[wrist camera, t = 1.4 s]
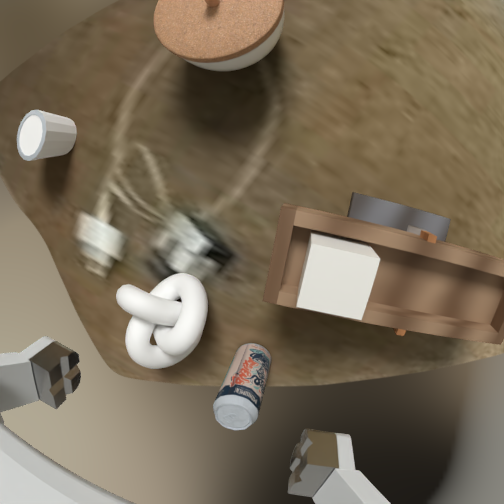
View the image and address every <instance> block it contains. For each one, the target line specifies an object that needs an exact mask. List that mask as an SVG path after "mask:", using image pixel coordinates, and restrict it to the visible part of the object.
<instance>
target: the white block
mask: <svg viewBox="0 0 504 504" xmlns="http://www.w3.org/2000/svg"><path fill="white" fill-rule="evenodd" d="M379 262H380V258H379V256H378V255H377V254H376V253H375V251H374V250H373V249H372V247H371V246H370V245H369V244H368V243H366V242H362V241H357V240H353V239H349V238H344V237H340V236H335V235H331V234H326V233H322V232H317V231H313V230H311V233H310V238H309V242H308V247H307V251H306V256H305V260H304V264H303V269H302V273H301V277H300V281H299V288H298V297H297V305H296V307H299V308H304V309H309V310H313V311H318V312H323V313H328V314H333V315H338V316H343V317H348V318H353V319H358V320H362V317H363V314H364V311H365V308H366V305H367V302H368V299H369V296H370V292H371V289H372V286H373V283H374V279H375V276H376V273H377V269H378V266H379Z"/></svg>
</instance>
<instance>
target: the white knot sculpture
mask: <svg viewBox="0 0 504 504" xmlns="http://www.w3.org/2000/svg"><path fill="white" fill-rule="evenodd" d="M116 298H117V303H118V304H119V305H120V306H121V307H122V309H124V310H125V311H126V312H128V313H130V314H132V315H133V316H132V318H131V320H130V322H129V325H128V327H127V331H126V339H125V341H126V348H127V351H128V353H129V355H130V357H131V358H132V359H133V360H134V361H135V362H136V363H138V364H139V365H141V366H144V367H147V368H151V369H160V368H166V367H169V366H171V365H174V364H176V363H178V362H180V361H181V360H183V359H184V358H185V357H187V356H188V355H189V354H190V353H191V352H192V351H193V350H194V348H195V347H196V346H197V344H198V342H199V341H200V339H201V336H202V333H203V329H204V325H205V322H206V318H207V312H208V299H207V294H206V291H205V288H204V287H203V285H202V284H201V282H200V281H199V279H197V278H196V277H195V276H192V275H189V274H186V273H179V274H175V275H172V276H170V277H168V278H166V279H165V280H163V281H162V282H160V283H159V284H158V285H157V286H156V287H155V288H154V289H153V290H152V291H151V292H150V293H147V292H145V291H143V290H141V289H139V288H137V287H135V286H133V285H130V284H127V285H122V286H121V287H120V288H119V289H118V291H117V294H116ZM180 298H181V300H182V303H181V302H178V301H177V300H178V299H180ZM152 332H153V335H154V338H155V341H156V343H157V345H151V344H150V337H151V334H152Z"/></svg>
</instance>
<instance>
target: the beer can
mask: <svg viewBox="0 0 504 504" xmlns="http://www.w3.org/2000/svg"><path fill="white" fill-rule="evenodd" d="M270 365H271V356H270V353H269V352H268V350H267V349H266V348H264V347H263V346H261V345H258V344H253V343H249V344H245V345H242V346H241V347H239V349H238V350H237V351H236V353H235V356H234V358H233V360H232V363H231V365H230V367H229V370H228V372H227V374H226V377H225V379H224V381H223V384H222V386H221V388H220V390H219V393H218V395H217V397H216V399H215V402H214V405H213V410H214V413H215V417H216V420H217V421H218V422H219V423H220V424H221V425H222V426H223V427H226V428H229V429H232V430H244V429H246V428H248V427H249V426H250V425H251V424H253V423H254V422H255V421H256V420H257V418H258V414H259V410H260V406H261V402H262V398H263V394H264V390H265V386H266V382H267V378H268V373H269V369H270Z"/></svg>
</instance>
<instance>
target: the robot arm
mask: <svg viewBox="0 0 504 504" xmlns="http://www.w3.org/2000/svg"><path fill="white" fill-rule="evenodd" d="M78 363H79V354H78V353H76V352H75V351H73V350H71V349H69V348H68V347H66V346H64V345H62V344H60V343H59V342H57V341H54V340H53V339H51V338H50V337H48V336H44V337H42V338H41V339H39V340H38V341H36V342H35V343H33V344H32V345H30V346H29V347H28V348H26V349H25V350H23V351H22V352H20V353H19V354H18V353H17V352H12V353H4V354H0V412H3V411H6V410H10V409H13V408H16V407H20V406H23V405H26V404H29V403H32V402H35V401H38V400H39V399H40V400H41V401H43V402H45V403H46V404H48V405H50V406H51V407H53V408H55V409H57V408H58V407H59V406H60V405H61V404H62V403H63V402H64V401H65V400H66V394H70V393H73V392H74V391H75V390H76V389H77V387H78V385H79V383H80V378H81V373H80V370H79V368H78V366H77V364H78ZM290 469H291V470H292V472H293V473H292V474H291V476H290V478H289V486H288V493H289V494H295V495H301V496H308V497H313V498H312V499H313V500H314V502H315V504H390V503H389V502H388V501H387V499H386V498H385V497H384V496H383V495H381V493H380V492H379V491H378V490H377V489H376V488H375V487H374V486H373V485H372V484H371V483H370V482H369V480H368V479H366V477H365V476H364V475H363V474H362V473H361V472H360V471H358V470H355V465H354V457H353V449H352V443H351V437H350V435H348V434H340V433H332V432H325V431H318V430H312V429H305V430H304V431H303V433H302V435H301V442H300V443H298V444H297V445H296V447H295V449H294V451H293V454H292V457H291V463H290ZM0 504H135V503H133V502H131V501H128V500H126V499H124V498H122V497H119V496H117V495H115V494H113V493H111V492H109V491H107V490H104V489H103V488H101V487H99V486H97V485H95V484H93V483H91V482H89V481H87V480H85V479H84V478H82V477H80V476H78V475H77V474H74V473H73V472H71V471H70V470H68V469H66V468H64V467H63V466H61V465H60V464H58V463H56V462H55V461H53V460H52V459H50V458H49V457H47V456H45V455H44V454H43V453H41V452H40V451H38V450H37V449H35V448H34V447H32V446H31V445H30V444H28V443H27V442H26V441H24V440H23V439H22V438H20V437H19V436H17V435H16V434H15V433H14V432H12V431H11V430H10V429H9V428H7V427H6V426H5V425H4V421H3V418H2V416H1V413H0Z"/></svg>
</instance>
